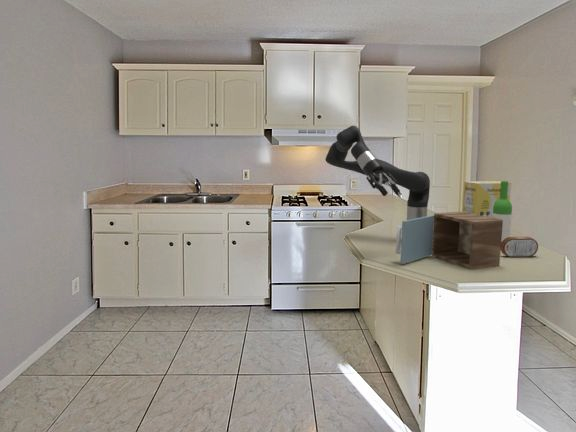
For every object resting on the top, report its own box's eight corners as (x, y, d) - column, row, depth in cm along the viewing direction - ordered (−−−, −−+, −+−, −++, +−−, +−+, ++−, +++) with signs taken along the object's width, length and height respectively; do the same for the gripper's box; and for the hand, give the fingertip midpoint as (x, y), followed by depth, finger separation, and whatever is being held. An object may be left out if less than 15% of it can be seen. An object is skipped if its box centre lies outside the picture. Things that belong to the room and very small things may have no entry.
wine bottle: (491, 244, 212) (496, 180, 208) (509, 246, 208) (515, 181, 203) (488, 247, 206) (493, 181, 201) (507, 249, 202) (513, 182, 197)
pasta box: (492, 235, 232) (496, 181, 227) (506, 240, 222) (511, 182, 217) (460, 237, 227) (464, 181, 223) (473, 241, 217) (477, 183, 213)
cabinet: (431, 255, 190) (434, 213, 187) (458, 252, 195) (460, 211, 192) (471, 269, 170) (474, 222, 167) (499, 265, 175) (503, 219, 172)
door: (419, 252, 193) (421, 214, 190) (431, 254, 189) (434, 215, 186) (390, 260, 179) (392, 219, 176) (403, 263, 174) (405, 221, 172)
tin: (534, 255, 191) (536, 236, 190) (538, 257, 188) (540, 237, 187) (499, 255, 191) (500, 236, 190) (502, 257, 188) (504, 237, 186)
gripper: (375, 169, 196) (396, 198, 190) (353, 171, 187) (375, 201, 180) (385, 157, 191) (408, 186, 185) (364, 158, 182) (387, 189, 175)
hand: (392, 193), depth 182 cm, fingers open, 8 cm apart
